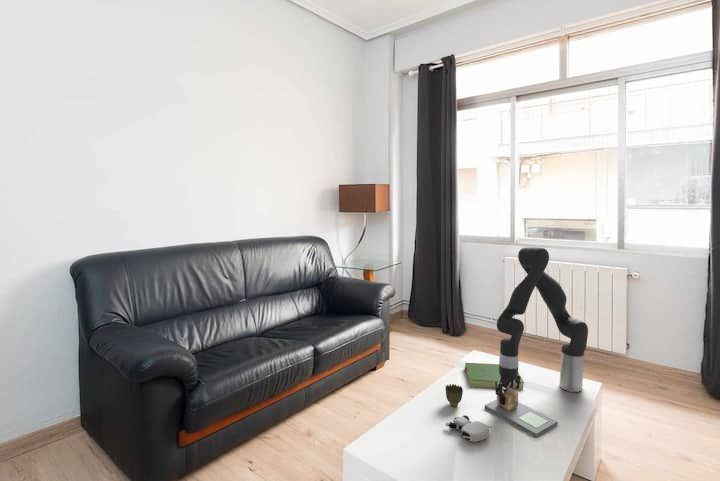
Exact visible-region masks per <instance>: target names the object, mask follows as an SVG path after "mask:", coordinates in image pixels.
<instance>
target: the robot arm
mask: <svg viewBox="0 0 720 481" xmlns="http://www.w3.org/2000/svg"><path fill="white" fill-rule="evenodd" d="M517 258H518V261H519V264H520V266H521V267H522V269H523V270H524V271H525V273H526V276H525V277H524V278H523V280H522V281H521V282H519V284H518V285H517V286H515V288H514V289H513V291H512V293H511V295H510V299H509V301H508V304H507V306H506V307H505V308H504V310H503V312H502V313H501V314H500V315H499V317H498V319H497V320H496V328H497V330H498V331H499V332H500V333H503V334H506V335H510V338H509V337H505V338H502V339H501V340H500V344H499V345H500V347H499V348H500V349H499V352H500V353H499V357H498V359H499V360H498V364H499V374H500V376H501V379H500V381H499V382H495V387H494V388H495V395H496V396H497V395H498V396H500V401H499V402H500V404H502V405H505V395H506V392H508V389H509V388H512V389H513V390H516V391H518V390H520V389H519V386H520V378H522V377H521V375H520V374H519V375H520V376H519V375H518V373H519V362H520V361H519V345H520V342H521V340H522V336H523V333H524V331H525V324H524V323H523V321H522V320H521V319H517V318H515V316H517V315H521V316H522V315H524V314H525V313H526V310H527V308H528V304H529V301H530V299H531V296H532V293H533V291H534V290H535V289H537V291H538V292H539V295H540V296H541V298H542V300H543V302H544V303H545V305H546V306H547V308H548V310H549V312H550V313H551V315H552V317H553V319H554V322H555V325H556V327H557V329H558V331H559V333H560V334H561V335H563V336H565V338H569V339H570V342H568V343H563V344H562V346H561V350H560V351H561V353H560V370H559V387H561V388H562V389H561V388H560V389H561V390H563V389H564V390H563V391H565V390H567V391H566V392H568V391H571V392H570V393H572V392H578V393H580V392H579V391H581V390H582V391H583V383H584V382H583V380H584V360H585V352H586V349H587V345H588V337H589V336H588V335H589V327H588V325H587V323H585V322H584V321H583V320H579V319H577V318H574V317H572V316H571V315H570V314H569V312H568V310H567V308H566V305H567V296H566V295H567V294H566V293H565V291H564V290H563V288H562V285H560V283H559V282H558V281H556V279H554V278H553V277H552V276H550V275H549V274H548V273H547V272H545V271H546V268H547V266H548V264H549V261H550V255H549V251H548V250H547V248H545V247H538V246H537V247H534V246H528V247H527V246H526V247H522V248H520V249H519V252H518V255H517ZM516 383H517V386H516ZM503 387H504V388H506V389H504V388H503ZM502 390H503V391H504V393H502ZM582 391H581V392H582Z"/></svg>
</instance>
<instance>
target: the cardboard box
mask: <svg viewBox="0 0 720 481" xmlns="http://www.w3.org/2000/svg"><path fill="white" fill-rule="evenodd" d="M503 388H504V387H503ZM504 389H506V388H504ZM502 393H504V391H503V390H502ZM496 400H497V405H499V406H501V407H503V408H505V409H506V410H508V411H509V410H511V409H513V408H515V407H517V406H518V402H519V390H517V391H516V390H513V389H512V388H509V389H508V392H506V395H505V405H502V404H500V402H499V401H500V396H498V395H496Z"/></svg>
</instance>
